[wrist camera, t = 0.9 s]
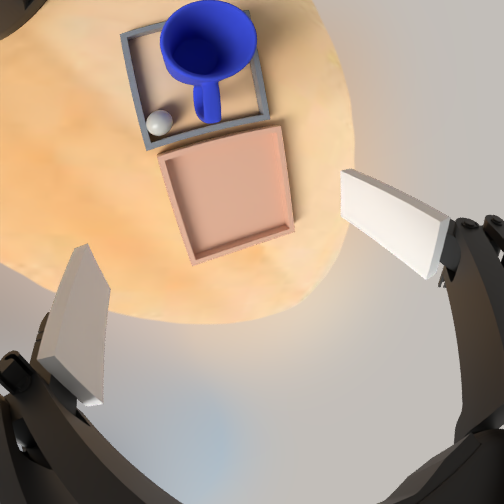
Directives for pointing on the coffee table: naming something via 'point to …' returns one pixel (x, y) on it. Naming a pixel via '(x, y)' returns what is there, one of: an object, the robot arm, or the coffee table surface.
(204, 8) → the mug
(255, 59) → the slate bin
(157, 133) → the pebble
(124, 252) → the coffee table surface
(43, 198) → the coffee table surface
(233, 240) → the terracotta dish
